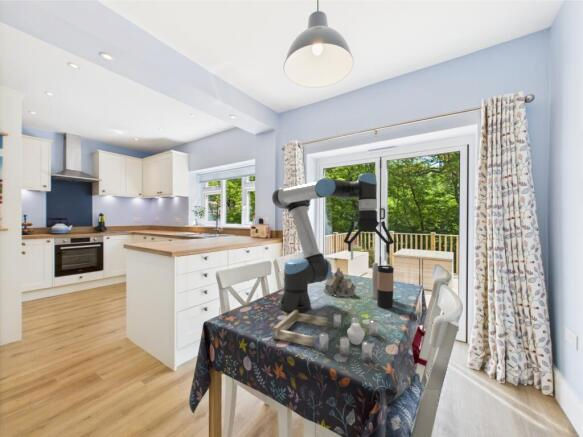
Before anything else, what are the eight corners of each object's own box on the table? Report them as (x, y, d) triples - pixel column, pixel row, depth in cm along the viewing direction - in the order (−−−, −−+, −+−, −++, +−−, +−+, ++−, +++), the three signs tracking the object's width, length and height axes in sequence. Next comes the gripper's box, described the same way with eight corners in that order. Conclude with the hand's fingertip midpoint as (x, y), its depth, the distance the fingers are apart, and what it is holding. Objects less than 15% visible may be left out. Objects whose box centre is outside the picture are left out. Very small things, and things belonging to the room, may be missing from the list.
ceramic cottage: (319, 291, 153) (322, 266, 152) (342, 289, 160) (344, 266, 159) (334, 300, 139) (337, 273, 138) (358, 298, 146) (361, 272, 145)
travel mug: (374, 305, 129) (374, 266, 129) (381, 302, 134) (381, 264, 134) (388, 310, 123) (389, 268, 123) (395, 306, 129) (396, 267, 129)
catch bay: (273, 338, 93) (273, 327, 92) (295, 318, 111) (295, 309, 111) (311, 347, 87) (312, 335, 87) (327, 325, 105) (328, 315, 105)
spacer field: (318, 350, 85) (318, 335, 85) (334, 325, 105) (334, 313, 105) (371, 362, 78) (371, 346, 78) (377, 333, 98) (377, 320, 98)
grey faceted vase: (367, 342, 91) (368, 322, 91) (359, 348, 86) (360, 328, 86) (352, 336, 95) (352, 318, 95) (343, 342, 90) (343, 323, 90)
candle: (399, 300, 138) (400, 263, 138) (374, 299, 139) (374, 263, 139) (394, 296, 146) (395, 261, 145) (370, 295, 146) (370, 261, 146)
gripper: (337, 210, 109) (337, 259, 108) (400, 208, 101) (400, 262, 100) (339, 211, 116) (340, 257, 116) (398, 209, 108) (399, 259, 107)
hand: (368, 260), depth 108 cm, fingers open, 13 cm apart
